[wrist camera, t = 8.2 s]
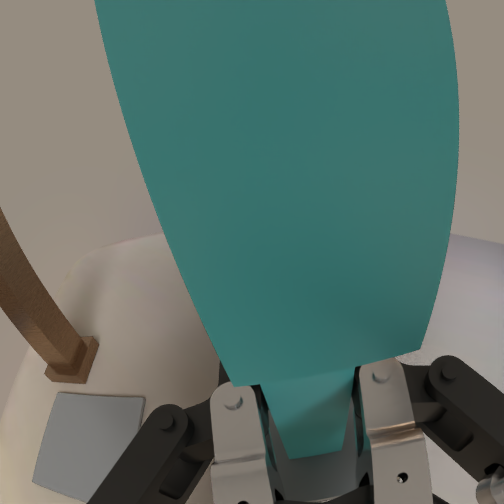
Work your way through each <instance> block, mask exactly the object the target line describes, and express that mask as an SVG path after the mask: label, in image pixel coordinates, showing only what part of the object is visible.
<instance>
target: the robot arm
mask: <svg viewBox="0 0 504 504" xmlns="http://www.w3.org/2000/svg"><path fill="white" fill-rule="evenodd" d="M351 397H352V401H353V405H354V407H353V420H354V432H355V445H356V472H355V477H356V489H355V490H353V491H350V492H348V493H346V494H344V495H342V496H339V497H337V498H335V499H333V500H330V501H328V502H324V503H316V502H302V501H291V500H286V496H285V492H284V488H283V484H282V480H281V477H280V474H279V471H278V466H277V461H276V457H275V452H274V447H273V443H272V438H271V433H270V428H269V415H268V410H270V409H269V407H268V404H267V402H266V399H265V396H264V394H263V391H262V388H261V386H260V384H257V385H249V386H240V387H234V386H233V385H232V383H231V381H230V379H229V377H228V375H227V373H226V371H225V369H224V367H223V365H222V363H221V361H220V367H219V384H218V387H217V389H216V390H215V391H214V392H213V394H212V396H211V397H210V398H209V399H208V400H206V401H205V402H203V403H200V404H198V405H195V406H192V407H189V408H186V409H184V410H183V409H182V408H181V407H179V406H177V405H173V404H166V405H162V406H160V407H158V408H156V409H155V410H154V411H153V412H152V413H151V414H150V416H149V417H148V418H147V420H146V421H145V423H144V424H143V425H142V427H141V428H140V430H139V431H138V433H137V434H136V435H135V437H134V438H133V440H132V441H131V442H130V444H129V445H128V447H127V448H126V449H125V451H124V452H123V454H122V455H121V456H120V458H119V459H118V461H117V462H116V463H115V465H114V466H113V468H112V469H111V470H110V472H109V473H108V475H107V476H106V477H105V479H104V480H103V482H102V483H101V484H100V486H99V487H98V489H97V490H96V491H95V493H94V494H93V496H92V497H91V498H90V500H89V501H88V502H87V504H185V502H186V501H187V499H188V498H189V496H190V495H191V493H192V492H193V490H194V488H195V487H196V485H197V484H198V482H199V480H200V479H201V477H202V476H203V474H204V472H205V471H206V469H207V467H208V466H209V464H210V462H211V461H212V459H213V458H214V457H215V461H214V463H213V464H212V465H211V471H210V475H211V485H212V494H213V502H214V504H449V503H448V502H446V501H444V500H443V499H441V498H439V497H438V496H436V495H435V494H433V493H432V487H431V478H430V470H429V463H428V456H427V450H426V444H425V438H424V434H423V432H424V433H425V434H426V435H427V436H428V437H429V438H430V439H431V440H432V441H433V442H435V443H436V444H437V445H438V446H439V447H440V448H441V449H442V450H443V451H444V452H445V453H447V454H448V455H449V456H450V457H451V458H452V459H453V460H454V461H455V462H456V463H458V464H459V465H460V466H461V467H462V468H463V469H464V470H465V471H466V472H467V473H469V474H470V475H471V476H472V477H473V478H474V479H475V480H476V481H477V482H479V484H478V486H477V489H476V499H477V502H478V503H479V504H504V394H503V393H502V392H501V391H499V390H498V389H497V388H496V387H495V386H493V385H492V384H491V383H490V382H488V381H487V380H486V379H485V378H483V377H482V376H481V375H479V374H478V373H477V372H476V371H474V370H473V369H472V368H471V367H469V366H468V365H467V364H465V363H464V362H463V361H462V360H460V359H459V358H457V357H454V356H449V355H447V356H441V357H439V358H437V359H436V360H435V361H433V363H432V364H431V366H413V365H406V364H403V363H401V362H399V361H398V360H396V359H395V358H394V357H392V358H388V359H385V360H381V361H377V362H373V363H369V364H365V365H361V366H357V367H355V371H354V378H353V386H352V393H351ZM422 431H423V432H422ZM400 478H401V479H402V480H403V482H402V483H399V479H400Z"/></svg>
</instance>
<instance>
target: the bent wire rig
mask: <svg viewBox="0 0 504 504" xmlns="http://www.w3.org/2000/svg"><path fill="white" fill-rule="evenodd" d="M0 307H1V308H2V310H3V311H4V312H5V314H6V315H7V316H8V318H9V319H10V320H11V322H12V323H13V324H14V325H15V327H16V328H17V329H18V330H19V331H20V333H21V334H22V335H23V337H24V338H25V339H26V340H27V341H28V343H29V344H30V345H31V346H32V347H33V348H34V350H35V351H36V352H37V353H38V354H39V355H40V356H41V357H42V358H43V360H44V361H45V362H46V363H47V364H48V366H47V368H46V370H45V373H44V374H45V375H46V376H47V377H48V378H49V379H50V380H51V381H53V382H65V383H79V384H86V381H87V378H88V375H89V372H90V369H91V366H92V363H93V360H94V357H95V355H96V352H97V349H98V347H99V344H98V343H97V342H96V340H95V339H94V338H93V336H91V337H80V336H79V335H78V334H77V332H76V331H75V330H74V328H73V327H72V326H71V324H70V323H69V322H68V320H67V319H66V318H65V316H64V315H63V314H62V312H61V311H60V309H59V308H58V306H57V305H56V304H55V302H54V301H53V299H52V298H51V296H50V295H49V293H48V292H47V290H46V289H45V287H44V286H43V284H42V283H41V281H40V280H39V278H38V276H37V275H36V273H35V271H34V270H33V268H32V267H31V265H30V263H29V261H28V260H27V258H26V256H25V254H24V253H23V251H22V249H21V247H20V245H19V244H18V242H17V240H16V238H15V236H14V234H13V232H12V230H11V228H10V227H9V224H8V222H7V221H6V219H5V216H4V214H3V212H2V210H1V208H0Z"/></svg>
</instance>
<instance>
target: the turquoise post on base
mask: <svg viewBox="0 0 504 504" xmlns="http://www.w3.org/2000/svg"><path fill="white" fill-rule="evenodd" d="M95 5H96V11H97V15H98V20H99V25H100V29H101V33H102V38H103V42H104V47H105V51H106V54H107V59H108V63H109V67H110V70H111V74H112V78H113V82H114V85H115V89H116V92H117V96H118V99H119V103H120V106H121V109H122V113H123V116H124V120H125V123H126V126H127V129H128V133H129V135H130V139H131V142H132V145H133V148H134V151H135V154H136V157H137V160H138V163H139V165H140V169H141V172H142V175H143V177H144V180H145V183H146V186H147V189H148V191H149V194H150V197H151V200H152V202H153V205H154V208H155V211H156V213H157V216H158V218H159V221H160V224H161V226H162V229H163V231H164V234H165V236H166V239H167V242H168V244H169V247H170V249H171V251H172V254H173V256H174V259H175V261H176V264H177V266H178V268H179V271H180V273H181V276H182V278H183V280H184V283H185V285H186V287H187V289H188V292H189V294H190V296H191V299H192V301H193V303H194V305H195V308H196V310H197V312H198V314H199V316H200V319H201V321H202V323H203V325H204V327H205V329H206V332H207V334H208V336H209V338H210V340H211V342H212V344H213V346H214V348H215V350H216V353H217V355H218V357H219V359H220V361H221V363H222V365H223V367H224V369H225V371H226V373H227V375H228V377H229V379H230V381H231V383H232V385H233V386H234V387H240V386H249V385H257V384H260V386H261V388H262V391H263V394H264V396H265V399H266V402H267V404H268V407H269V409H270V410H268V415H269V428H270V433H271V438H272V443H273V447H274V452H275V457H276V461H277V466H278V471H279V474H280V477H281V480H282V484H283V488H284V492H285V496H286V500H291V501H302V502H320V501H326V500H331V499H335V498H337V497H339V496H342V495H344V494H346V493H348V492H350V491H353V490H355V489H356V477H355V472H356V445H355V432H354V420H353V407H354V405H353V401H352V397H351V393H352V386H353V378H354V371H355V367H357V366H361V365H365V364H369V363H373V362H377V361H381V360H385V359H388V358H392V357H396V356H399V355H403V354H406V353H409V352H413V351H416V350H419V349H420V348H421V345H422V342H423V339H424V336H425V333H426V330H427V327H428V323H429V320H430V317H431V313H432V310H433V306H434V303H435V299H436V295H437V292H438V288H439V284H440V279H441V275H442V271H443V266H444V262H445V257H446V252H447V247H448V241H449V236H450V230H451V223H452V216H453V209H454V201H455V192H456V182H457V181H456V180H457V169H458V151H459V150H458V149H459V99H458V82H457V70H456V61H455V52H454V46H453V45H454V44H453V38H452V32H451V26H450V21H449V15H448V10H447V6H446V1H445V0H95Z"/></svg>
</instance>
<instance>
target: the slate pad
mask: <svg viewBox="0 0 504 504" xmlns="http://www.w3.org/2000/svg"><path fill="white" fill-rule="evenodd" d="M145 400H146V399H145V398H140V397H108V396H91V395H79V394H68V393H59V392H58V393H57V396H56V399H55V402H54V404H53V407H52V410H51V414H50V417H49V420H48V423H47V426H46V429H45V433H44V436H43V440H42V443H41V447H40V450H39V454H38V458H37V462H36V466H35V470H34V475H33V479H32V482H33V483H35V484H38V485H40V486H42V487H45V488H47V489H50V490H52V491H55V492H57V493H60V494H63V495H65V496H68V497H71V498H74V499H77V500H80V501H83V502H86V503H87V502H88V501H89V500H90V498H91V497H92V496H93V494H94V493H95V491H96V490H97V489H98V487H99V486H100V484H101V483H102V482H103V480H104V479H105V477H106V476H107V475H108V473H109V472H110V470H111V469H112V468H113V466H114V465H115V463H116V462H117V461H118V459H119V458H120V456H121V455H122V454H123V452H124V451H125V449H126V448H127V447H128V445H129V444H130V442H131V441H132V440H133V438H134V437H135V435H136V434H137V433H138V431H139V430H140V427H141V421H142V415H143V410H144V405H145Z"/></svg>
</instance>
